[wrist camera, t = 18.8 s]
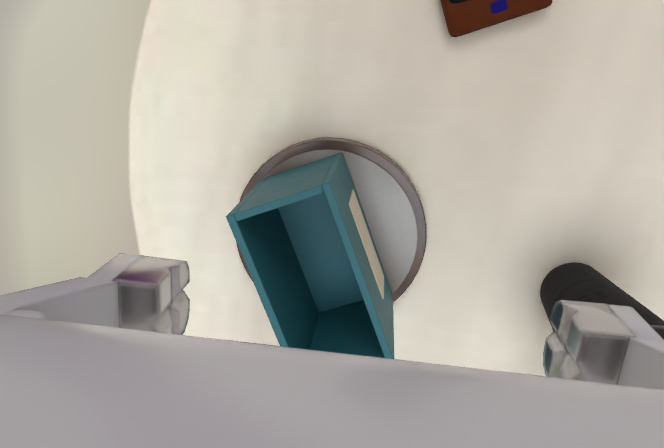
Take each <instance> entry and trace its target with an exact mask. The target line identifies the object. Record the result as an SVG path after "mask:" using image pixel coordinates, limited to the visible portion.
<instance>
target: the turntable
mask: <svg viewBox="0 0 664 448" xmlns="http://www.w3.org/2000/svg"><path fill="white" fill-rule="evenodd" d="M340 152H343V154H344V157H345V160H346V163H347V165H348V168H349V171H350V174H351V177H352V180H353V183H354V185H355V188H356V191H357V194H358V197H359V200H360V203H361V205H362V208H363V211H364V214H365V217H366V220H367V223H368V225H369V228H370V231H371V234H372V237H373V240H374V243H375V245H376V248H377V251H378V254H379V257H380V260H381V263H382V265H383V268H384V271H385V274H386V277H387V280H388V283H389V285H390V288H391V291H392V294H393V302H394V301H395V300H397V299H398V298H399V297H400V296H401V295H402V294H403V293H404V292H405V290H406V289H407V288H408V287H409V285H410V284H411V283H412V281H413V279H414V278H415V276H416V274H417V272H418V270H419V268H420V265H421V263H422V260H423V256H424V252H425V247H426V222H425V216H424V211H423V207H422V204H421V201H420V198H419V196H418V194H417V191H416V189H415V187H414V186H413V184H412V183H411V181H410V180H409V178H408V176H407V175H406V174H405V173H404V172H403V171H402V169H401V168H400V167H399V166H398V165H397V164H395V163H394V162H393V161H392V160H391V159H390V158H388V157H387V156H385V155H384V154H382V153H381V152H379V151H378V150H376V149H374V148H372V147H370V146H368V145H365V144H362V143H359V142H356V141H352V140H347V139H341V138H318V139H312V140H307V141H303V142H300V143H297V144H294V145H292V146H290V147H288V148H286V149H284V150H282V151H280V152H279V153H277V154H276V155H274V156H273V157H271V158H270V159H269V160H268V161H267V162H266V163H265V164H264V165H263V166H261V167H260V168H259V169H258V171H257V172H256V173H255V174H254V175H253V177H252V178H251V179H250V181H249V183H248V184H247V186H246V188H245V190H244V192H243V194H242V196H241V199H240V202H241V201H242V200H243V198H244V197H245V196H246V195H247V194H248V193H249V192H250V191H251V190H252V189H253V188H254V187H255V186H256V185H257V184H258V183H259V182H260V181H261V180H262V179H263V178H266V177H269V176H272V175H275V174H278V173H281V172H284V171H287V170H290V169H293V168H296V167H299V166H302V165H305V164H308V163H311V162H314V161H317V160H320V159H323V158H326V157H329V156H332V155H335V154H337V153H340ZM240 202H239V203H240ZM237 247H238V251H239V255H240V258H241V260H242V263H243V265H244V268H245V269H246V271H247V273H248V275H249V276H250V278H251V279H252V277H251V275H250V273H249V270H248V268H247V265H246V263H245V261H244V258H243V256H242V253H241V251H240V249H239V246H238V244H237ZM252 281H253V280H252Z"/></svg>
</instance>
